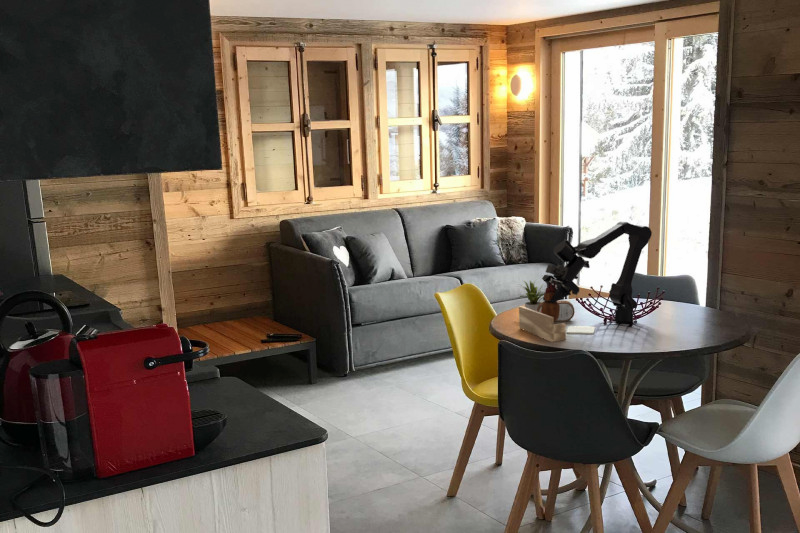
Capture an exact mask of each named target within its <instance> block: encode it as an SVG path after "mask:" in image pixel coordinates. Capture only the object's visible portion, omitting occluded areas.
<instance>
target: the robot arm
mask: <svg viewBox="0 0 800 533" xmlns="http://www.w3.org/2000/svg"><path fill="white" fill-rule="evenodd" d="M652 233H653V232H652V230H651V228H650V227H649V226H647V225H646V226H645V225H640V224H639V225H638V224H631V223H630V222H627V221H619V222H617V223H616V224H615V225H614V226H612V227H610V228H608V229H607V230H606V231H604V232H602V233H601V234H599V235H598V236H596V237H593V238H591V239H586V240H584V241H582V242H580V243H578V244H577V245H576V246H573V245H572V244H571V243H570V241H569V240H567V239H564V240H563V241H562V242H559V243H558V244H556V245H555V246H554V249H553V251H552V252H553V253H554V254H555V255H556V256H557V257H558V259H560V260H561V262H563V263H566V264H565V265H564V266H563V265H561V264H557V265H554V264H549V263H548V264H547V268H546V270H545V273H547V274H544V275H543V276H542V277H541V280H543V282H545V283H546V285H547V286H546V288H547V290H548V286H549V289H550V283H551V284H552V289H553V285H554V282H555V294H554V295H553V297H552V298H551V300H550V302H551V303H554V302H556V301H561V300H562V299H563V298H565V297H568V296H571V295H576V296H577V295H578V294H579V293H580V287H579V286H578V285H577V284H576V283H575V282H574V280H577V279H578V278H579V276H578V274H579V273H580V272H581V271H582V269H583V268H586V269H590V261H589V260H585V259H594V258H595V257H596V256H597V255H599V253H600V252H601V251H602V249H603V248H604V247H605V246H607V245H609V244H610V243H612V242H613V241H615V240H616V239H618V238H619V237H622V236H623V235H624V234H625V235H628V245H629V246H628V250H627V253H626V257H625V260H624V263H623V267H622V269H621V273H620V275H619V279H618V281H617V282H616V283H613V282H612V283H611V285H610V286H611V287H610V290H609V292H608V293H609V298H610V301H611V302H612V305H613V306H614V307H616V309H615V310H614V322H616V323H615V324H623V325H627V324H628V325H633V324H634V310H635V309H636V308H637V306H638V302H637V301H636V300H635V299H634V298H633V286H632V283H633V280H634V276H635V273H636V270H637V266H638V264H639V260H640V257H641V254H642V250H643V249H644V248H645V247H646V246H647V245H648V244H649V242H650V239H651V237H652V235H653V234H652ZM584 258H585V259H584ZM542 300H543V302H544V301H545V300H544V298H543V297H542Z"/></svg>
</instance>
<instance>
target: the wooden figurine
mask: <svg viewBox="0 0 800 533" xmlns="http://www.w3.org/2000/svg"><path fill="white" fill-rule="evenodd" d="M543 293H544V295H543V297H544V300H545V302H544V300H543V301H542V302H543V304H542V313H543V314H546V315H548V316H551V317H553V318H554V321H556V320H557V319H558V317H559V313H560V305H559V303H558V302H557V301H556V302H554V303H551V302H550V300H551V298H552V297H553V295H554V294H555V282H554V285H553V289H552V284H551V283H550V289H549V286H548V290H547V287H546V288H545V291H544V292H543Z"/></svg>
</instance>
